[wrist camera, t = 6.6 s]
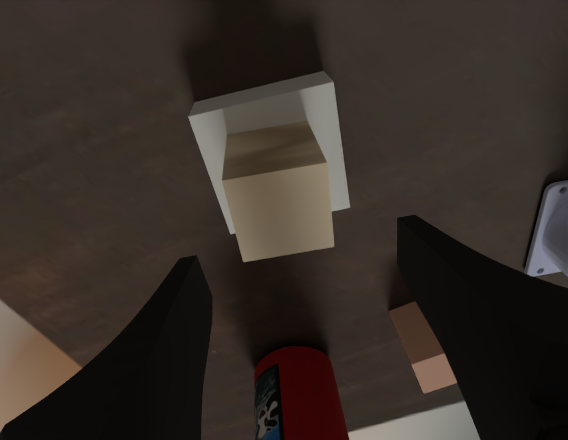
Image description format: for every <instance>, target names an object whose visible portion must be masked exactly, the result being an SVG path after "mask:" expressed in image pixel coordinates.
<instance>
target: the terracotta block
mask: <svg viewBox="0 0 568 440" xmlns="http://www.w3.org/2000/svg"><path fill="white" fill-rule="evenodd" d="M388 312H389V314H390V316H391V319H392V321H393V323H394V326H395V328H396V330H397V333H398V335H399V337H400V340H401V342H402V344H403V347H404V349H405V351H406V354H407V356H408V358H409V361H410V363H411V365H412V367H413V370H414V372H415V374H416V377H417V379H418V381H419V384H420V386H421V388H422V391H423V393H427V392H430V391H433V390H437V389H440V388H443V387H446V386H449V385H452V384H455V383H457V381H456V378H455V376H454V374H453V372H452V369H451V367H450V365H449V363H448V360H447V358H446V356H445V354H444V351H443V349H442V347H441V345H440V344H439V342H438V340H437V338H436V336H435V334H434V333H433V331H432V329H431V328H430V326H429V324H428V322H427V321H426V319H425V317H424V315H423V314H422V312H421V310H420V309H419V307H418V305H417V303H416V302H415V301H414V302H412V303H409V304H406V305H404V306H401V307H398V308H396V309H393V310H390V311H388Z"/></svg>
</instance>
